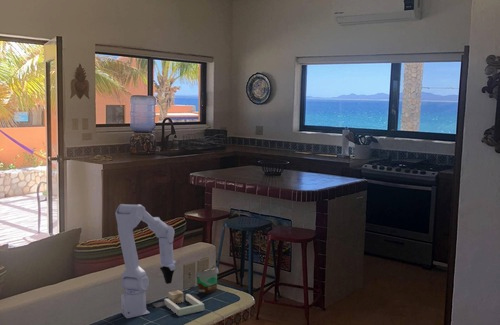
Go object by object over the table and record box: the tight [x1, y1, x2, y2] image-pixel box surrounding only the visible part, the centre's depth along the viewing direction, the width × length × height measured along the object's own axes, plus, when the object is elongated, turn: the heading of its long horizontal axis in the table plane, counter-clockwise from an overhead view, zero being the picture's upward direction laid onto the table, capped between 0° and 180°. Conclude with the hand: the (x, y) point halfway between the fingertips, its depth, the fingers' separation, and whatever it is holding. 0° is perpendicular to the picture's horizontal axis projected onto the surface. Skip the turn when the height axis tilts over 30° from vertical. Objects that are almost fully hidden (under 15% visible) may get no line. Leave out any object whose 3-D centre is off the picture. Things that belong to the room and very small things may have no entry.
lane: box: [163, 293, 205, 317], centre depth 219 cm, size 11×16×2 cm, turn 28°
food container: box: [195, 265, 219, 294], centre depth 239 cm, size 12×6×10 cm, turn 143°
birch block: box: [167, 290, 185, 305], centre depth 227 cm, size 5×5×4 cm
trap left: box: [151, 301, 167, 309], centre depth 224 cm, size 4×6×1 cm
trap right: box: [190, 294, 201, 300], centre depth 231 cm, size 4×6×1 cm
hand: (168, 283), depth 235 cm, fingers closed
